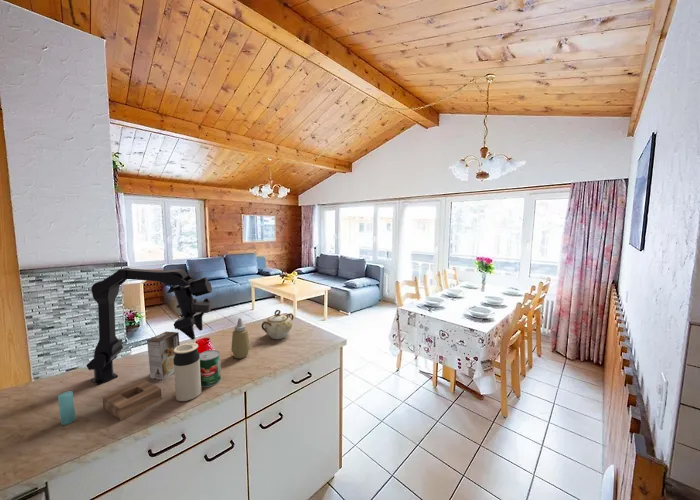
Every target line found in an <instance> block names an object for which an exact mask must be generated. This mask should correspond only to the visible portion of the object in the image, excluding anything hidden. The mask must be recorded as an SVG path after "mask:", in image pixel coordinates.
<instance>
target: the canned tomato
mask: <svg viewBox="0 0 700 500" xmlns="http://www.w3.org/2000/svg"><path fill="white" fill-rule="evenodd" d="M220 353H221V352H220V351H219V350H216V349H212V350H210V349H209V350H205V351H203V352H201V353H200V352H199V356H200V375H201V388H211V387H213V386H216V385H217V384H219V383H220V382H221V380H222V374H221V371H222V370H221V356H220V355H221V354H220Z"/></svg>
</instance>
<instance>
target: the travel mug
mask: <svg viewBox="0 0 700 500" xmlns="http://www.w3.org/2000/svg"><path fill="white" fill-rule="evenodd" d="M198 348H199V344H198V343H195V342H186V343H183V344H182V343H181V344H179V346H177V347H176V348H175V349H174V352H175V356H174V359H173V361H174V373H173V375H174V387H175V388H174V389H175V399H176V400H177V401H180V402H186V401H191V400H193V399H195V398H196V397H198V396H199V395H200V394H201V393H202V387H201V375H200V356H199V354H200V352H199V350H198Z"/></svg>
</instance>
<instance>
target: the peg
mask: <svg viewBox="0 0 700 500" xmlns="http://www.w3.org/2000/svg"><path fill="white" fill-rule="evenodd" d="M57 399H58V400H57V401H58V410H59V418H60V424H61V426H66V425H70V424H71V423H73V422H75V420H76V408H75V401H74V392H73V391H71V390H70V391H64V392H62V393H60V394H59V395H58V396H57Z"/></svg>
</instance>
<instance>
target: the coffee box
mask: <svg viewBox="0 0 700 500" xmlns="http://www.w3.org/2000/svg"><path fill="white" fill-rule="evenodd" d="M146 342H147V344H146V345H147V352H148V364H149V366H148V367H149V376H150V379H154V378H156V379H155V380H161V379H162V381H163V380H165V379H166V378H168V377H170V376H171V375H174V361H173V359H174V356H175V352H174V349H175V348H176V347H177V346H179V345H180V336H179V332H177V331H164V332H162V333H160V334H158V335H156V336H153V337H151V338H149V339H147V340H146Z"/></svg>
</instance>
